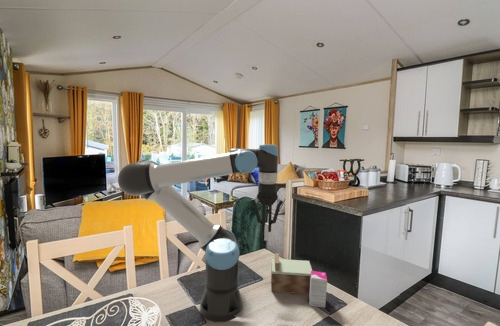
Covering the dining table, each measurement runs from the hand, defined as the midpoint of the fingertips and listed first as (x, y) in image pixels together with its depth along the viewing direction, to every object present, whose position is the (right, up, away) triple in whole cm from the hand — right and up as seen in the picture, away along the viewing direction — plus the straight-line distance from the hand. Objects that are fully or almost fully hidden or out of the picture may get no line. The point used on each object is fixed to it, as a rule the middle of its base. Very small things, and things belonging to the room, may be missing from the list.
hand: (266, 239), depth 107 cm
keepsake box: (+10, -20, +1) cm, 23 cm away
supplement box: (+18, -22, -10) cm, 30 cm away
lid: (+10, -12, 0) cm, 16 cm away
